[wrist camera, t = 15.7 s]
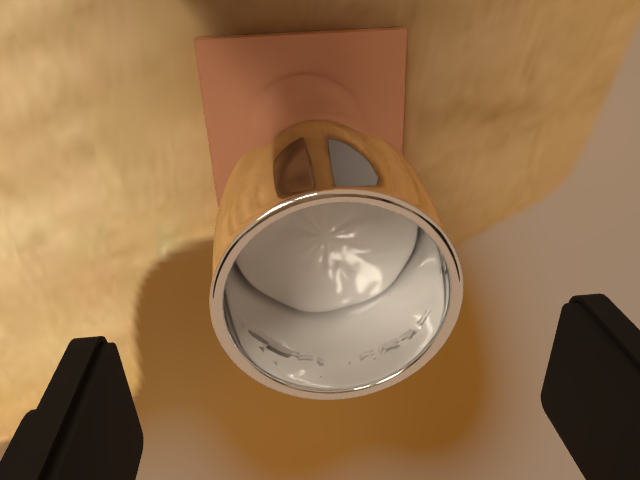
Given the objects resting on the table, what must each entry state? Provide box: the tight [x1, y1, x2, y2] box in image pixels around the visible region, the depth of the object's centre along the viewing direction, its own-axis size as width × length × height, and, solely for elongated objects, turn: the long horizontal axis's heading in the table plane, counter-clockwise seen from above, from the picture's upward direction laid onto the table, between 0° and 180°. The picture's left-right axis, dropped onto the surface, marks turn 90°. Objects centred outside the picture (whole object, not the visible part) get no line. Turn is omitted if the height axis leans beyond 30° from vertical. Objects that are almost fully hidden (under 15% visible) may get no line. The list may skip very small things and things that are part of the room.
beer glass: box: [210, 74, 464, 400], centre depth 20 cm, size 7×7×15 cm
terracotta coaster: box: [194, 27, 407, 209], centre depth 27 cm, size 10×10×1 cm
